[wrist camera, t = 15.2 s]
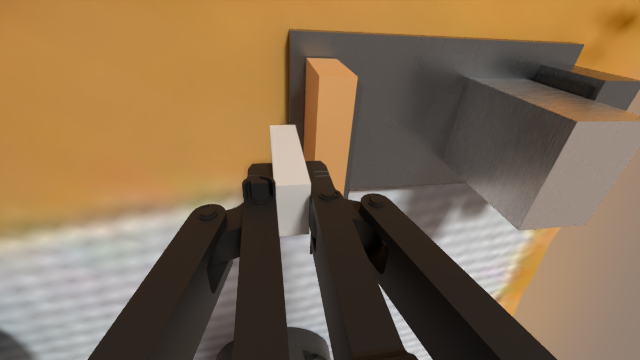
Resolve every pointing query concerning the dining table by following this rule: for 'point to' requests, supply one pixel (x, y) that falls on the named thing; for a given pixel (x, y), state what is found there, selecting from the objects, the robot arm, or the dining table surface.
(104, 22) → the dining table surface
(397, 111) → the vise
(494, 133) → the steel block
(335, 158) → the block
